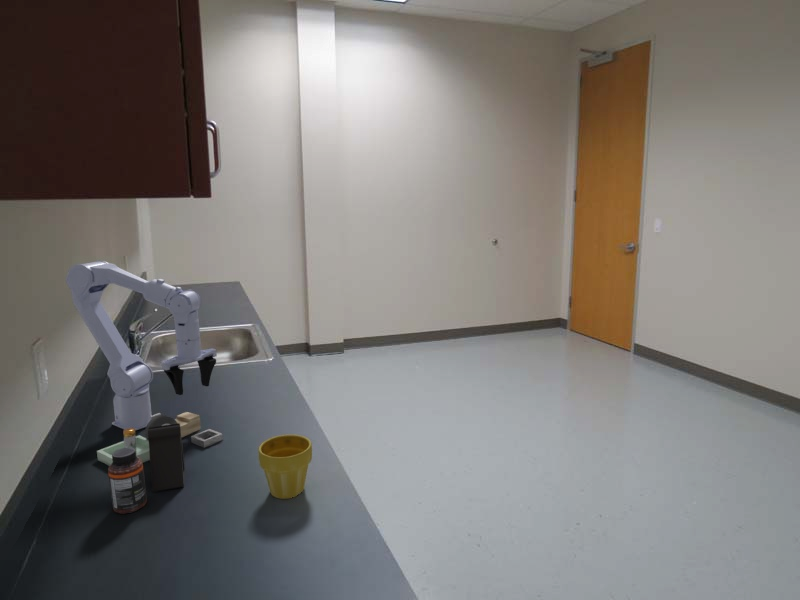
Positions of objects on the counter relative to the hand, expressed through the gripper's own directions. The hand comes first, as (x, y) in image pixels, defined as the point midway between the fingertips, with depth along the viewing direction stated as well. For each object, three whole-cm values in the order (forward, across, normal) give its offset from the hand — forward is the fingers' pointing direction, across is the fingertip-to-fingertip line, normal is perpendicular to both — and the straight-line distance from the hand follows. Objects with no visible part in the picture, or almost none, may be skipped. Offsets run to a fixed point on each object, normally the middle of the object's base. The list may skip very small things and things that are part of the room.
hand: (192, 389), depth 139 cm
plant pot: (+10, -9, -44) cm, 46 cm away
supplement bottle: (+10, -30, -23) cm, 39 cm away
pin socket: (+10, -4, -10) cm, 15 cm away
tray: (+10, -19, -3) cm, 22 cm away
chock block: (+10, -4, 0) cm, 11 cm away
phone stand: (+10, -20, -20) cm, 30 cm away
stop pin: (+9, -19, -3) cm, 21 cm away
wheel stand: (+10, -11, -3) cm, 15 cm away
